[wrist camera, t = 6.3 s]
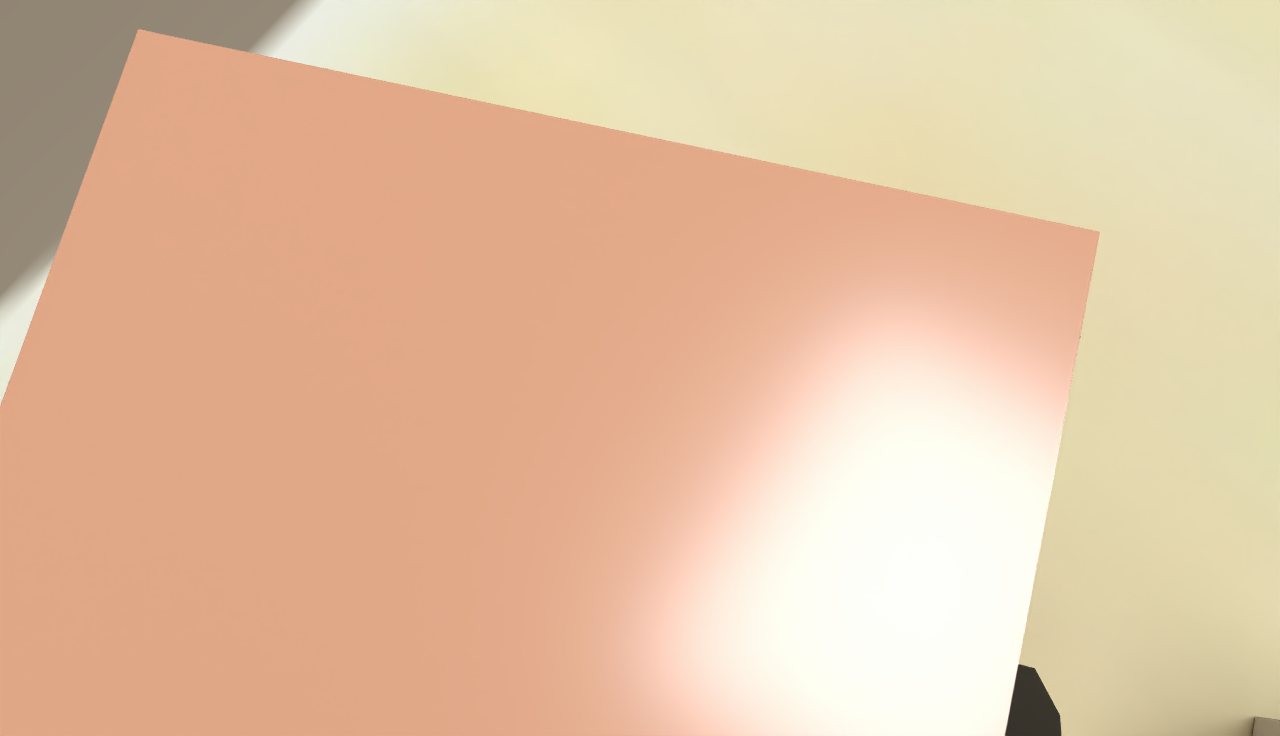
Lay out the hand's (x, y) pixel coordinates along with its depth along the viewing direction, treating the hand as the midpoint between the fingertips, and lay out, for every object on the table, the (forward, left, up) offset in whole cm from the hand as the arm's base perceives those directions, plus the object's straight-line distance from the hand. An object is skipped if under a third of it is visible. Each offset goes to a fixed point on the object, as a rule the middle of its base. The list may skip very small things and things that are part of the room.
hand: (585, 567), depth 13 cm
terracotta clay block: (+1, +1, -5) cm, 5 cm away
